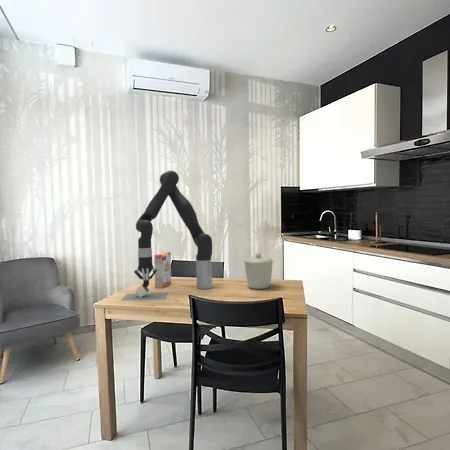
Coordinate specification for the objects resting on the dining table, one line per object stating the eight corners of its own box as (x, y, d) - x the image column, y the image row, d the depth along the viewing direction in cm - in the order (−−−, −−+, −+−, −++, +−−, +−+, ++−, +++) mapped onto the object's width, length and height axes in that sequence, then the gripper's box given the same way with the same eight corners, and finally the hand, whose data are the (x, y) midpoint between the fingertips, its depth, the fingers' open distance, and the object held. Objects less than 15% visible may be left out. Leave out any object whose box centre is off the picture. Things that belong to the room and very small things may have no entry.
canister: (270, 292, 188) (270, 255, 187) (240, 290, 194) (239, 254, 193) (276, 284, 205) (276, 251, 204) (248, 283, 211) (247, 250, 210)
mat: (168, 292, 192) (168, 292, 192) (165, 299, 178) (165, 298, 178) (126, 294, 190) (126, 293, 190) (120, 301, 176) (120, 300, 176)
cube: (143, 283, 186) (136, 288, 186) (142, 285, 181) (134, 290, 181) (149, 290, 186) (141, 295, 186) (147, 292, 182) (140, 297, 181)
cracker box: (163, 288, 202) (162, 254, 201) (154, 288, 203) (153, 254, 202) (171, 283, 216) (170, 251, 215) (163, 283, 217) (162, 251, 216)
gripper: (158, 254, 187) (159, 284, 188) (134, 255, 186) (135, 285, 187) (156, 256, 179) (157, 287, 180) (131, 257, 179) (132, 288, 180)
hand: (146, 286), depth 184 cm, fingers closed
